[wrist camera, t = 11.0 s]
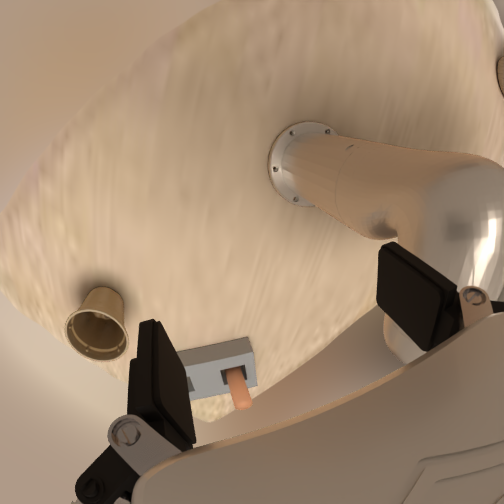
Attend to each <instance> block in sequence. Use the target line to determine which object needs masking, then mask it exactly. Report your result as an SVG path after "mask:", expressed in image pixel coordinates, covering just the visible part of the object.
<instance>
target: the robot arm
mask: <svg viewBox="0 0 504 504" xmlns="http://www.w3.org/2000/svg"><path fill="white" fill-rule="evenodd" d="M325 130H326V133H325ZM290 131H291V135H290V134H289V133H290ZM274 166H275V169H274V170H273V167H274ZM268 171H269V176H270V180H271V182H272V184H273V186H274V188H275V189H276V191H277V192H278V193H279V194H280V195H281V196H282V197H283V198H284V199H286V200H287V201H288V202H290V203H292V204H294V205H298V206H302V207H312V206H317V207H318V208H320V209H322V210H323V211H325V212H326V213H328V214H329V215H331V216H332V217H334V218H335V219H337V220H339V221H340V222H342V223H343V224H345V225H346V226H348V227H349V228H351V229H352V230H354V231H355V232H357V233H359V234H360V235H362V236H364V237H367V238H370V239H375V240H386V239H391V238H395V237H398V244H397V243H396V242H390V243H387V244H384V245H382V246H381V249H380V250H379V253H378V278H377V295H376V300H377V304H378V305H379V306H380V308H381V309H382V310H383V311H384V312H385V319H384V337H385V341H386V344H387V346H388V348H389V350H390V352H391V353H392V354H393V355H394V356H395V357H396V358H397V359H398V360H399V361H401V362H402V363H404V364H405V366H403V367H401V368H399V369H398V370H396V371H394V372H392V373H390V374H389V375H387V376H385V377H383V378H381V379H379V380H377V381H375V382H373V383H371V384H369V385H367V386H365V387H363V388H361V389H359V390H357V391H355V392H353V393H351V394H349V395H346V396H344V397H342V398H340V399H337V400H335V401H333V402H331V403H328V404H326V405H324V406H321V407H319V408H316V409H314V410H311V411H309V412H306V413H304V414H301V415H299V416H296V417H293V418H291V419H288V420H285V421H282V422H279V423H276V424H273V425H270V426H267V427H264V428H261V429H258V430H255V431H252V432H249V433H245V434H242V435H239V436H235V437H232V438H228V439H224V440H221V441H217V442H214V443H211V444H207V445H203V446H200V447H196V448H193V445H192V444H195V443H196V436H195V430H194V424H193V417H192V411H191V404H190V397H189V390H188V383H187V375H186V370H185V368H184V365H183V363H182V362H181V360H180V358H179V356H178V354H177V352H176V351H175V349H174V347H173V345H172V343H171V341H170V339H169V337H168V335H167V333H166V331H165V329H164V327H163V325H162V324H161V322H160V321H158V322H156V321H155V320H154V319H151V320H147V321H143V322H140V324H139V334H138V347H137V358H134V359H132V360H131V361H130V369H129V384H128V404H127V415H124V416H121V417H119V418H117V419H116V420H115V421H114V422H113V423H112V424H111V425H110V428H109V430H108V441H109V443H110V446H109V447H108V448H107V449H106V450H105V451H104V452H103V453H102V454H101V455H100V456H99V457H98V458H97V459H96V460H95V461H94V462H93V463H92V464H91V466H89V467H88V468H87V470H86V471H85V472H84V473H83V474H82V475H81V476H80V477H79V478H78V480H77V482H76V485H75V492H76V496H77V498H78V499H77V500H76V502H73V501H72V503H71V504H504V168H503V167H502V166H500V165H499V164H498V163H496V162H494V161H492V160H490V159H487V158H484V157H481V156H478V155H473V154H467V153H458V152H443V151H428V150H418V149H411V148H404V147H399V146H393V145H388V144H383V143H378V142H372V141H367V140H361V139H355V138H349V137H343V136H339V135H338V133H337V132H335V131H334V130H333V129H332V128H330V127H329V126H327V125H325V124H322V123H318V122H301V123H297V124H294V125H292V126H290V127H288V128H287V129H286V130H284V131H283V132H282V133H281V134H280V135H279V136H278V137H277V139H276V140H275V142H274V144H273V145H272V148H271V151H270V154H269V160H268ZM294 197H295V199H293V198H294Z"/></svg>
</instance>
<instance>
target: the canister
mask: <svg viewBox="0 0 504 504" xmlns="http://www.w3.org/2000/svg"><path fill="white" fill-rule="evenodd" d="M497 73H498V80H499V84H500V88H501V90H502V92H503V94H504V57H502V58H501V59H500V60H499V62H498V66H497Z"/></svg>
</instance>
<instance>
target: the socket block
mask: <svg viewBox="0 0 504 504" xmlns="http://www.w3.org/2000/svg"><path fill="white" fill-rule="evenodd" d="M177 354H178V356H179V358H180V360H181V362H182V363H183V365H184V368H185V370H186V375H187V383H188V390H189V397H190V401H191V400H196V399H202V398H207V397H212V396H216V395H221V394H226V393H230V389H229V385H228V381H227V378H226V374H225V370H224V369H228V368H232V367H237V366H240V367H241V370H242V373H243V376H244V379H245V382H246V385H247V388H251V387H255V386H258V385H257V377H256V370H255V362H254V354H253V350H252V347H251V345H250V342H249V340H248V337H245V338H241V339H237V340H232V341H228V342H223V343H219V344H214V345H209V346H205V347H200V348H195V349H190V350H184V351H179V352H177Z"/></svg>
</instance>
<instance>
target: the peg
mask: <svg viewBox="0 0 504 504" xmlns="http://www.w3.org/2000/svg"><path fill="white" fill-rule="evenodd" d="M224 370H225V374H226V378H227V381H228V385H229V389H230V392H231V396H232V399H233V402H234V406H235V408H236V409H238V410H244V409H247V408H249V407H251V405H252V400H251V397H250V394H249V391H248V388H247V385H246V382H245V379H244V376H243V373H242V370H241V367H240V366H237V367H232V368H228V369H224Z"/></svg>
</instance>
